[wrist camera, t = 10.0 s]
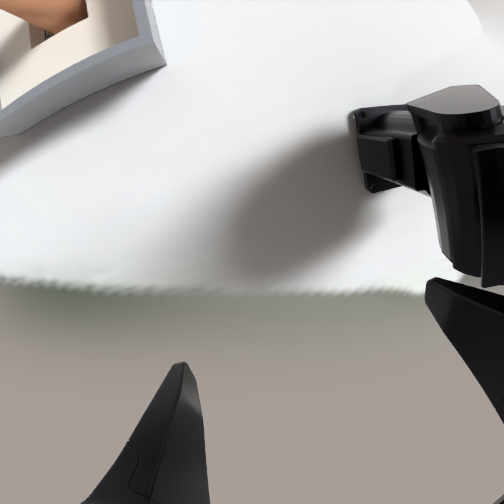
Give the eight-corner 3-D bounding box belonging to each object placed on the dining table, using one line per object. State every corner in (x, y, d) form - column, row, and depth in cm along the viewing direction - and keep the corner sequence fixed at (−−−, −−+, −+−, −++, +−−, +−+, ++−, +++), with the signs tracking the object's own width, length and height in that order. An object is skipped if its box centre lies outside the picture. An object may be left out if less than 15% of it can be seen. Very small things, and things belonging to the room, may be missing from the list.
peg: (92, 25, 13) (41, -17, 5) (53, 45, 12) (-9, 19, 5) (87, -6, 11) (42, -52, 4) (50, 14, 11) (-6, -19, 4)
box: (136, -68, 9) (125, -104, 4) (166, 64, 15) (153, 41, 10) (6, -1, 8) (-28, -17, 4) (19, 134, 15) (-26, 142, 10)
